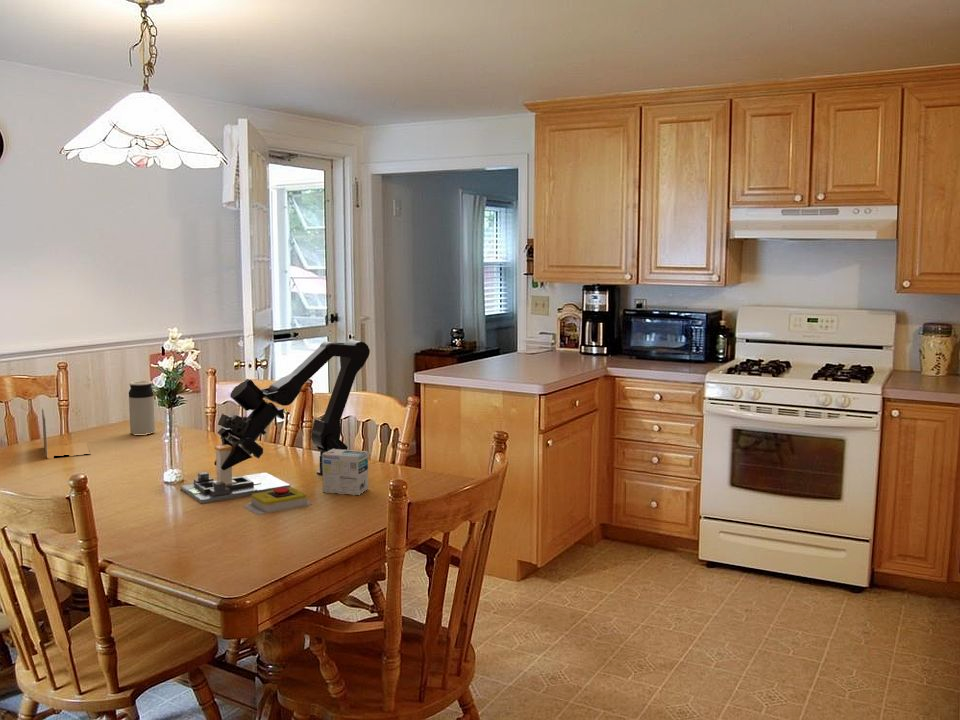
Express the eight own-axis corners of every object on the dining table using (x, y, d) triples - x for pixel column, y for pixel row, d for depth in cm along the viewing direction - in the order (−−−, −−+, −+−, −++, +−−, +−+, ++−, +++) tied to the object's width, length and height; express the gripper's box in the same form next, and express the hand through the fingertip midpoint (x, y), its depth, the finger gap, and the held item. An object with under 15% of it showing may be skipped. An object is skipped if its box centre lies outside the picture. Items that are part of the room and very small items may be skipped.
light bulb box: (369, 489, 227) (369, 450, 226) (359, 496, 221) (358, 456, 220) (332, 486, 230) (332, 447, 229) (321, 493, 224) (321, 453, 222)
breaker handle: (230, 482, 228) (229, 443, 226) (236, 486, 225) (235, 446, 223) (212, 485, 225) (211, 446, 223) (218, 489, 222) (216, 449, 220)
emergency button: (313, 489, 213) (256, 499, 204) (313, 506, 214) (257, 517, 205) (296, 481, 221) (241, 490, 211) (297, 497, 221) (241, 507, 212)
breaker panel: (266, 475, 240) (265, 462, 240) (290, 488, 228) (289, 474, 227) (180, 489, 226) (180, 474, 225) (201, 503, 213) (200, 488, 213)
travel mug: (159, 431, 297) (157, 380, 295) (147, 436, 289) (145, 384, 287) (138, 430, 298) (136, 380, 296) (125, 435, 290) (123, 383, 288)
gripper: (223, 397, 232) (184, 442, 226) (250, 407, 217) (209, 456, 212) (252, 422, 237) (214, 466, 232) (280, 434, 223) (240, 481, 217)
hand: (218, 467), depth 223 cm, fingers open, 5 cm apart
